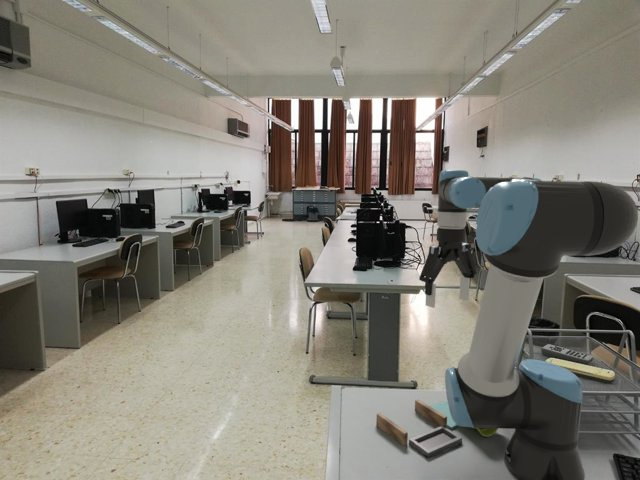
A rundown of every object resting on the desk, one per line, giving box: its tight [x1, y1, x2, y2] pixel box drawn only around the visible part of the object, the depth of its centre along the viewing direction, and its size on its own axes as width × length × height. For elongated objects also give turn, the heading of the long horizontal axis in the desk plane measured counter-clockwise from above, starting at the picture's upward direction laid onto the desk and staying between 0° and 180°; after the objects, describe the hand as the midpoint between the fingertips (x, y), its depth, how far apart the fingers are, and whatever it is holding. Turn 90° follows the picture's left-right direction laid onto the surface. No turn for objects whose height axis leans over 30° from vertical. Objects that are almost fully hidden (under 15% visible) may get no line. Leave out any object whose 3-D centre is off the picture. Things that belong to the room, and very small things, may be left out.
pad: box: [429, 401, 460, 431], centre depth 112 cm, size 10×10×1 cm
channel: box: [376, 399, 448, 447], centre depth 106 cm, size 10×14×3 cm
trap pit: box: [408, 425, 463, 459], centre depth 99 cm, size 6×11×1 cm, turn 122°
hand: (447, 303), depth 120 cm, fingers open, 13 cm apart
